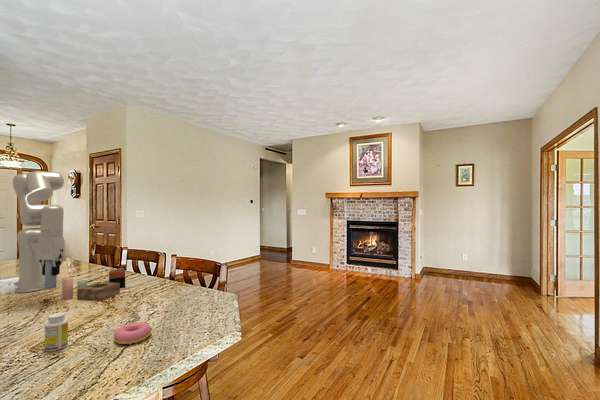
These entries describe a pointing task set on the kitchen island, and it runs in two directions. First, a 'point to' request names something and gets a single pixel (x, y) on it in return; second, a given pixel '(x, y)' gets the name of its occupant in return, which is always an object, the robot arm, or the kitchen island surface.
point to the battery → (117, 277)
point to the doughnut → (132, 333)
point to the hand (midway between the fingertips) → (50, 274)
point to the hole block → (98, 291)
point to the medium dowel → (67, 288)
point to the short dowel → (81, 283)
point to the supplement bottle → (56, 332)
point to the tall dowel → (49, 275)
